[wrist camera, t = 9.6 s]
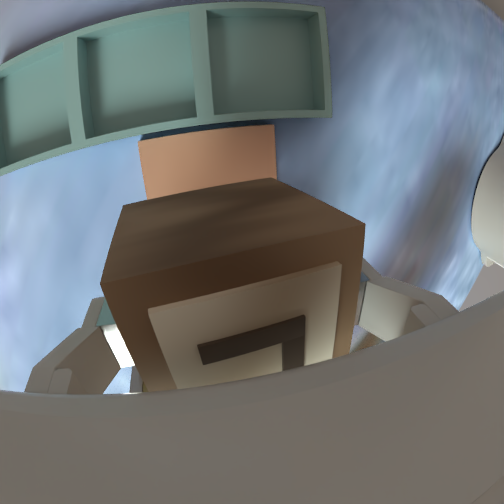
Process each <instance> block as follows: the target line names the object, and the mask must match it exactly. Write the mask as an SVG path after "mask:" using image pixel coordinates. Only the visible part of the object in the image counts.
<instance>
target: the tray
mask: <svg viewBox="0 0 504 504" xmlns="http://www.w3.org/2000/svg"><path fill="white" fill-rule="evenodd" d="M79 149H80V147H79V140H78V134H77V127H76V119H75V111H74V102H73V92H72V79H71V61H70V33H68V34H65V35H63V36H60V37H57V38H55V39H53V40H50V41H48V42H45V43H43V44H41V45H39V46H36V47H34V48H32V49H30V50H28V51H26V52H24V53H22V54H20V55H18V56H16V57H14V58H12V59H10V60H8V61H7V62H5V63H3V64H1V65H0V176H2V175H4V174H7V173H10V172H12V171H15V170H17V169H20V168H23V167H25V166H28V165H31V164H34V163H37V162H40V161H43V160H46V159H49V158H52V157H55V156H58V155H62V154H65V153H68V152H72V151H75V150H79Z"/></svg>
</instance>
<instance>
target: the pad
mask: <svg viewBox="0 0 504 504" xmlns="http://www.w3.org/2000/svg"><path fill="white" fill-rule="evenodd" d="M138 147H139V154H140V160H141V167H142V173H143V179H144V184H145V190H146V195H147V200H149V199H153V198H158V197H163V196H167V195H172V194H177V193H182V192H187V191H192V190H198V189H203V188H208V187H214V186H219V185H225V184H231V183H237V182H243V181H250V180H256V179H263V178H270V177H272V178H274V179H276V180H277V171H276V149H275V130H274V124H263V125H249V126H237V127H227V128H217V129H209V130H201V131H193V132H186V133H179V134H173V135H167V136H161V137H155V138H150V139H145V140H140V141H138Z"/></svg>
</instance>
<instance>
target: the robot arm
mask: <svg viewBox="0 0 504 504" xmlns="http://www.w3.org/2000/svg"><path fill="white" fill-rule="evenodd" d="M471 228H472V236H473V240H474V242H475V244H476V246H477V247H478V248H479V250H480V252H481V261H482V264H484V265H486V266H487V267H489V266H491V265H492V264H494V263H497V264H498V265H500V266H501V267H503V268H504V136H503V139H502V142H501V144H500V146H499V147H498V149H497V150H496V151H495V152H494V153H493V154H492V156H491V157H490V158H489V160H488V162H487V164H486V165H485V167H484V170H483V172H482V174H481V177H480V180H479V183H478V186H477V189H476V193H475V197H474V202H473V208H472V219H471ZM358 324H359V326H360V327H362V328H364V329H365V330H367V331H369V332H370V333H372V334H374V335H376V336H377V337H379V338H381V339H382V340H384V341H386V342H383V343H380V344H377V345H374V346H371V347H368V348H365V349H362V350H359V351H356V352H352V353H349V354H346V355H342V356H339V357H336V358H332V359H328V360H325V361H321V362H317V363H314V364H310V365H306V366H302V367H298V368H294V369H289V370H285V371H281V372H276V373H272V374H267V375H262V376H257V377H252V378H247V379H242V380H236V381H230V382H225V383H218V384H212V385H205V386H198V387H191V388H182V389H174V390H164V391H153V392H140V393H124V394H103V393H104V391H105V390H106V388H107V387H108V385H109V384H110V383H111V381H112V380H113V378H114V377H115V376H116V374H117V373H118V371H119V370H120V369H121V368H120V367H126V366H135V364H134V362H133V360H132V358H131V356H130V354H129V352H128V350H127V348H126V346H125V343H124V341H123V339H122V337H121V335H120V332H119V330H118V328H117V325H116V323H115V321H114V318H113V316H112V314H111V311H110V309H109V306H108V304H107V301H106V299H105V297H98V298H94V299H92V301H91V303H90V306H89V309H88V311H87V314H86V316H85V319H84V322H83V325H82V327H81V328H77V329H76V330H75V331H74V332H73V333H72V334H70V335H69V336H68V337H67V338H66V339H65V340H64V341H62V342H61V343H60V344H59V345H58V346H57V347H56V348H54V349H53V350H52V351H51V352H50V353H49V354H48V355H47V356H45V357H44V358H43V359H42V360H41V361H40V362H39V363H38V364H37V365H35V366H34V367H33V369H32V372H31V374H30V377H29V380H28V383H27V385H26V388H25V391H24V392H15V391H5V390H0V504H504V290H503V291H501V292H499V293H497V294H495V295H493V296H491V297H490V298H487V299H486V300H484V301H481V302H479V303H477V304H475V305H473V306H471V307H470V308H467V309H465V310H463V311H460V312H459V311H458V310H457V309H456V308H455V307H453V306H452V305H451V304H450V303H449V302H448V301H447V300H446V299H445V298H444V297H443V296H442V295H439V294H436V293H433V292H430V291H427V290H425V289H422V288H419V287H416V286H413V285H410V284H407V283H404V282H401V281H398V280H395V279H393V278H390V277H382V276H381V275H380V274H379V273H378V272H377V271H376V270H375V269H374V268H373V267H372V266H371V265H370V264H369V263H368V262H367V261H366V260H365V259H364V258H363V260H362V269H361V278H360V286H359V294H358V302H357V309H356V315H355V322H354V325H358Z"/></svg>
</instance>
